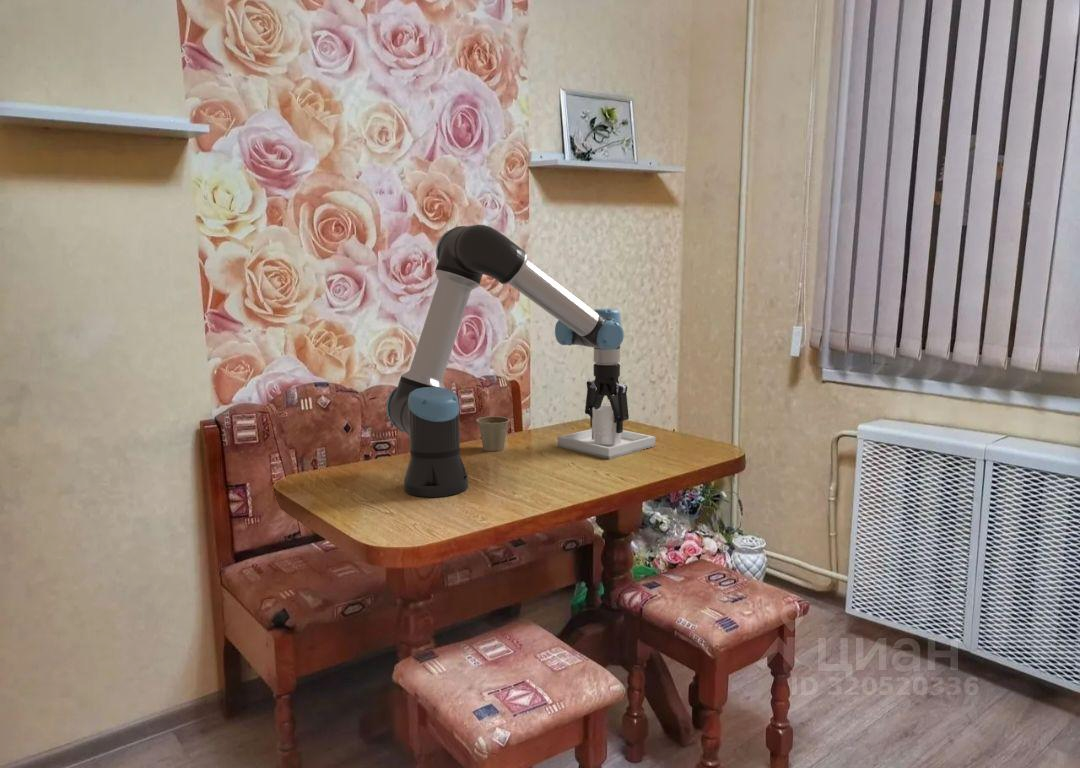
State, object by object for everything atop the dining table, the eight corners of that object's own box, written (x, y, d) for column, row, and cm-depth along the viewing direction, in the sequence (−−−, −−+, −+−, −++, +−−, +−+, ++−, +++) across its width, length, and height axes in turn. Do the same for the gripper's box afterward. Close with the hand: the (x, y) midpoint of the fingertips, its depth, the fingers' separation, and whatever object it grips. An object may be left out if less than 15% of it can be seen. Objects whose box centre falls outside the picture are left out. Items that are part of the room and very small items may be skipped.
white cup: (606, 446, 211) (606, 412, 209) (586, 442, 216) (586, 408, 215) (624, 442, 216) (625, 408, 214) (604, 437, 222) (605, 404, 220)
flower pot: (509, 453, 210) (508, 423, 209) (475, 453, 210) (475, 423, 209) (511, 445, 219) (510, 416, 218) (479, 445, 220) (478, 416, 218)
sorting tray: (608, 459, 202) (608, 448, 202) (557, 446, 217) (557, 436, 217) (655, 446, 216) (655, 436, 215) (604, 435, 230) (604, 426, 230)
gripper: (643, 365, 208) (641, 445, 211) (589, 358, 222) (589, 433, 226) (625, 367, 203) (624, 449, 206) (572, 361, 217) (572, 437, 221)
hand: (606, 441), depth 216 cm, fingers closed on white cup, 7 cm apart
